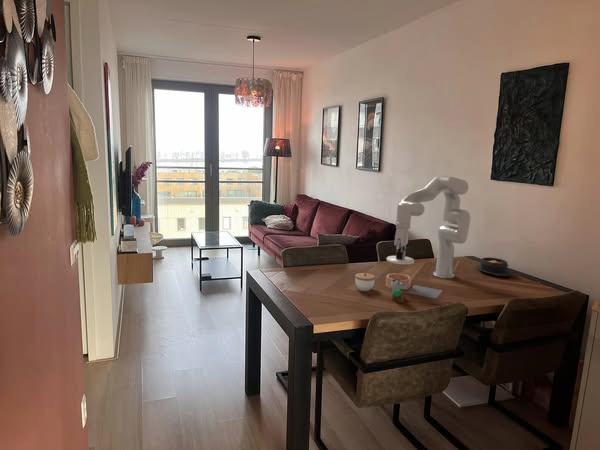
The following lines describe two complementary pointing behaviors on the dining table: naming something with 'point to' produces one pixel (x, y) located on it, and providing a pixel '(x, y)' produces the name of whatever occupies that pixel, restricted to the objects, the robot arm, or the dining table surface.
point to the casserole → (494, 266)
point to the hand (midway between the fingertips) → (400, 257)
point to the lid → (400, 261)
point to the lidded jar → (364, 281)
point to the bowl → (403, 278)
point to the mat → (424, 291)
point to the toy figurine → (398, 291)
